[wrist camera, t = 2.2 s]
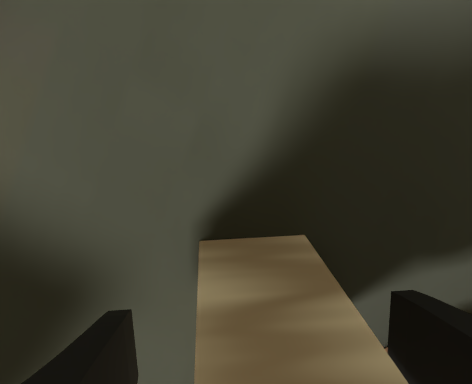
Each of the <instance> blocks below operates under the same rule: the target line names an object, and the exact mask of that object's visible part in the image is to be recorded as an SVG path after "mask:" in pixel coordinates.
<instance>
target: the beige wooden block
mask: <svg viewBox="0 0 472 384" xmlns="http://www.w3.org/2000/svg"><path fill="white" fill-rule="evenodd" d="M194 384H409V383H408V382H407V381H406V379H405V378H404V376H403V375H402V373H401V372H400V371H399V369H398V368H397V366H396V365H395V363H394V362H393V361H392V359H391V358H390V356H389V355H388V353H387V352H386V351H385V349H384V348H383V346H382V345H381V343H380V342H379V341H378V339H377V338H376V336H375V335H374V333H373V332H372V331H371V329H370V328H369V326H368V325H367V323H366V322H365V321H364V319H363V318H362V316H361V315H360V313H359V312H358V311H357V309H356V308H355V306H354V305H353V303H352V302H351V300H350V299H349V298H348V296H347V295H346V293H345V292H344V290H343V289H342V288H341V286H340V285H339V283H338V282H337V280H336V279H335V278H334V276H333V275H332V273H331V272H330V270H329V269H328V268H327V266H326V265H325V263H324V262H323V260H322V259H321V258H320V256H319V255H318V253H317V252H316V250H315V249H314V248H313V246H312V245H311V243H310V242H309V240H308V239H307V238H306V236H305V235H294V236H277V237H259V238H242V239H224V240H207V241H199V265H198V294H197V322H196V351H195V380H194Z"/></svg>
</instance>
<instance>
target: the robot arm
mask: <svg viewBox="0 0 472 384" xmlns="http://www.w3.org/2000/svg"><path fill="white" fill-rule="evenodd" d="M387 353H388V355H389V356H390V358H391V359H392V361H393V362H394V363H395V365H396V366H397V368H398V369H399V371H400V372H401V373H402V375H403V376H404V378H405V379H406V381H407V382H408V383H409V384H472V315H471V314H469V313H467V312H464V311H462V310H460V309H458V308H455V307H453V306H451V305H449V304H446V303H444V302H442V301H440V300H437V299H435V298H433V297H430V296H428V295H425V294H423V293H420V292H417V291H414V290H406V291H391V304H390V320H389V335H388V350H387ZM137 381H138V368H137V358H136V349H135V339H134V330H133V321H132V311H131V309H130V310H116V311H108V312H107V313H105V314H104V315H103V316H102V317H101V318H99V319H98V320H97V321H96V322H95V323H94V324H93V325H92V326H91V327H89V328H88V329H87V330H86V331H85V332H84V333H83V334H82V335H81V336H79V337H78V338H77V339H76V340H75V341H74V342H73V343H72V344H70V345H69V346H68V347H67V348H66V349H65V350H64V351H62V352H61V353H60V354H59V355H57V356H56V357H55V358H54V359H52V360H51V361H50V362H49V363H47V364H46V365H45V366H44V367H42V368H41V369H40V370H39V371H37V372H36V373H35V374H34V375H32V376H31V377H30V378H28V379H27V380H26V381H24V382H23V383H22V384H137Z"/></svg>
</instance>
